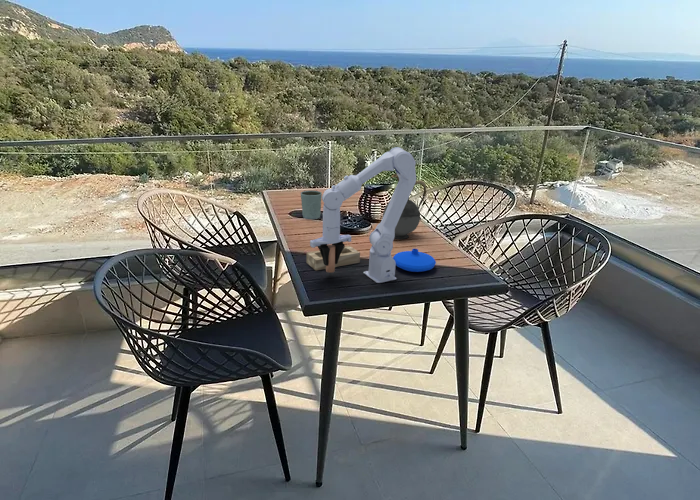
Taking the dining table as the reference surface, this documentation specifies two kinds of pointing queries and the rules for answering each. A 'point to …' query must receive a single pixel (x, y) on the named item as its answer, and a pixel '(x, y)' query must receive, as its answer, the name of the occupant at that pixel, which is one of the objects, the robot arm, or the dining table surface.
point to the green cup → (311, 204)
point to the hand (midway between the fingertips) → (330, 263)
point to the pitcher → (408, 215)
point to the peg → (331, 259)
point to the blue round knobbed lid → (414, 261)
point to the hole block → (346, 258)
